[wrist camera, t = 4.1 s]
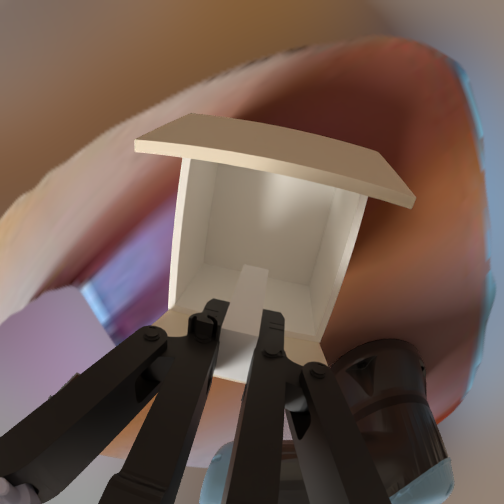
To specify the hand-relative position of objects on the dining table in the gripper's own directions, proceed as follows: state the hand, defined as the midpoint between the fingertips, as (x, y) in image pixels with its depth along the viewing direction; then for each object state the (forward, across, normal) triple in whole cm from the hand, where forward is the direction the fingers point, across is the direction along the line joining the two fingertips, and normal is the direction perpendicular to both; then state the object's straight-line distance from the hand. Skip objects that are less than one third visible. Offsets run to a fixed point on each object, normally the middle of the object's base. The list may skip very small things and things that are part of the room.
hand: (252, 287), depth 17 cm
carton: (+14, 0, -2) cm, 14 cm away
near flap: (0, 0, -8) cm, 8 cm away
